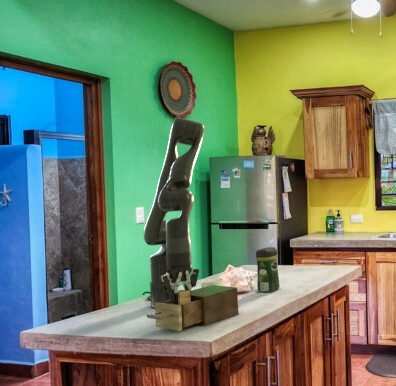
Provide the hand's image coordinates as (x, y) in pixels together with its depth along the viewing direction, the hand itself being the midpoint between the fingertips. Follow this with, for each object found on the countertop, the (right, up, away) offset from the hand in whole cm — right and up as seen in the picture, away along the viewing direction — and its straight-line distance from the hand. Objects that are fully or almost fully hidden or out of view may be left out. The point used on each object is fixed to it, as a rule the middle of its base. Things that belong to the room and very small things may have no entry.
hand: (181, 302), depth 159 cm
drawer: (0, -7, -1) cm, 7 cm away
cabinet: (+6, -8, +10) cm, 14 cm away
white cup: (+1, -8, +26) cm, 27 cm away
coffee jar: (+16, -6, +51) cm, 54 cm away
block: (0, 0, 0) cm, 0 cm away
